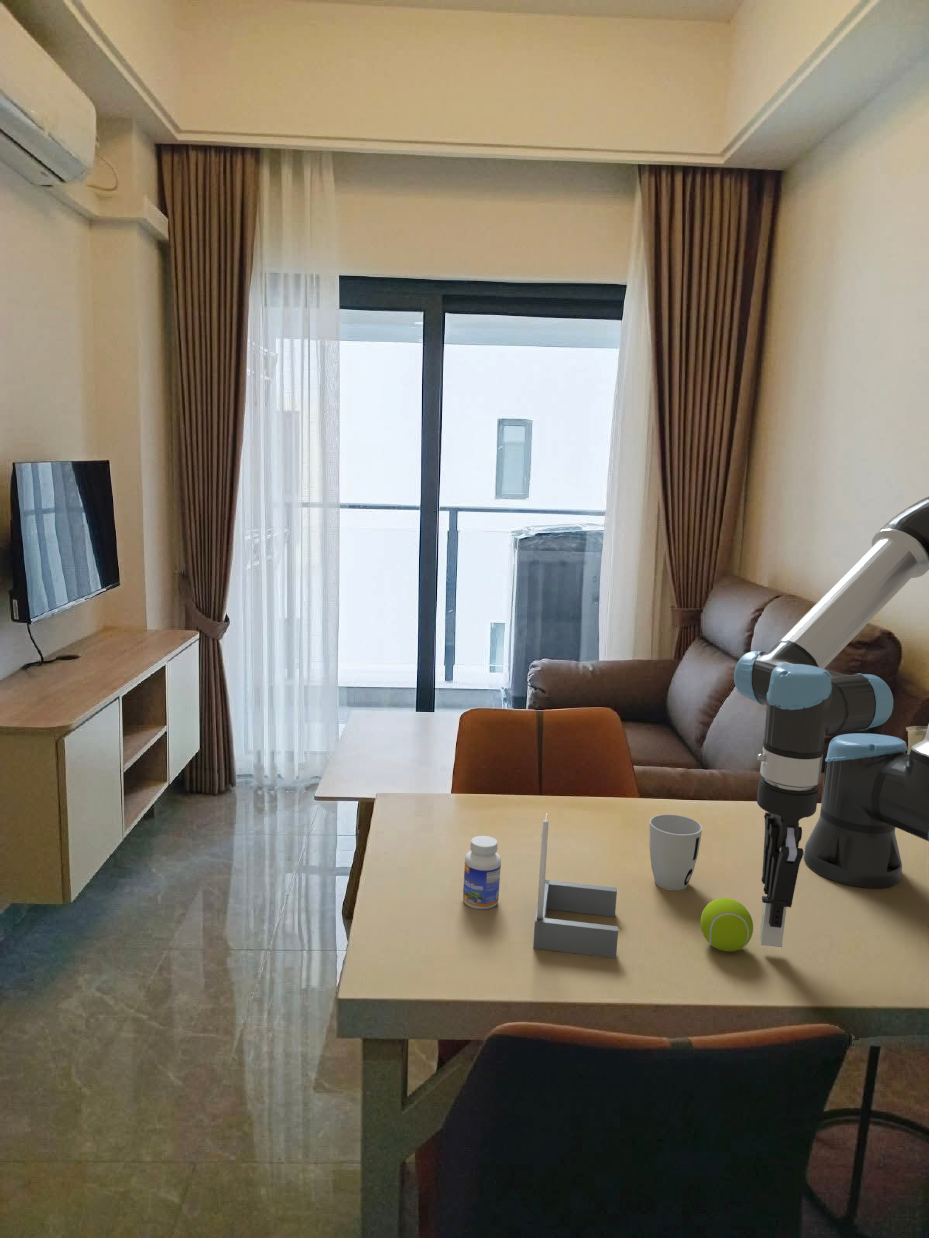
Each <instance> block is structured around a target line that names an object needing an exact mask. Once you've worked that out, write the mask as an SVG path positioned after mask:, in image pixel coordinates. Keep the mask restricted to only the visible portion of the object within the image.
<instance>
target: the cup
mask: <svg viewBox="0 0 929 1238" xmlns="http://www.w3.org/2000/svg"><path fill="white" fill-rule="evenodd" d="M702 831H703V825H702V824H701V823H700V822H699V821H697V820H695V819H693V818H690V817H688V816H684V815H680V814H672V813H671V814H670V813H666V814H658V815H654V816H652V817H651V818H650V819H649V842H648V843H649V844H648V845H649V857H650V866H651V870H652V874H653V879H654V882H655V884H656V885H657V886H658V887H659V888H661V889H665V890H668V891H683V890H684V889H686V888H687V887H688V885H689V883H690V881H691V878H692V876H693V874H694V871H695V867H696V864H697V860H698V856H699V851H700V845H701V837H702V834H703V833H702Z"/></svg>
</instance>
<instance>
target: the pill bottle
mask: <svg viewBox="0 0 929 1238" xmlns="http://www.w3.org/2000/svg"><path fill="white" fill-rule="evenodd" d="M469 849H470V850H469V851H467V853H466V855H465V857H464V872H463V874H464V875H463V888H462V890H463V891H462V892H463V893H462V900H463V902H464V904H465V905H466V906H467V907H469V908H472V909H475V910H489V909H492V908H494V907H496V906H497V905H498V903H499V897H500V880H501V867H502V865H501V864H502V863H501V862H502V860H501V856H500V855H499V853H498V840H497V839H496V838H494V837H492V836H488V835H477V836H474V837H473V838H471V840H470V848H469Z"/></svg>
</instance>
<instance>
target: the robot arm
mask: <svg viewBox="0 0 929 1238" xmlns="http://www.w3.org/2000/svg"><path fill="white" fill-rule="evenodd" d="M928 571H929V496H927V497H924V498H922V499H921V500H920V499H919V500H918V501H917V502H915V503H913V504H912V505H910V506H908V507H907V508H905V509H904V510H902V511H900V512H899V513H898V514H896V515H895V516H894V517H892V518H891V519H890V520H888V522H887V523H885V525H883V526H882V527H881V528H880V529H879V530H878V531H877V532H876V533H875V534H874V535H873V537H872V539H871V548H870V549H868V550H867V551H866V553H865V554H863V556H862V557H861V558H860V559H859V560H858V561H857V562H856V563H855V564H854V565H853V566H852V567H851V568H850V569H849V570H848V571H847V572H846V573H845V574H844V575H843V576H842V577H841V578H840V579H839V580H838V581H837V582H836V583H835V584H834V585H832V587H831V588H830V589H829V590H828V591H827V592H826V593H825V594H824V595H823V596H822V597H821V598H820V599H819V600H818V601H817V602H816V603H815V604H814V605H813V606H812V608H810V609H809V610H808V611H807V613H805V614H804V615H803V616H802V617H801V619H800V620H798V621H797V622H796V624H795V625H793V627H792V628H791V629H790V630H788V632H787V633H785V634H784V635H783V637H782V638H780V640H779V641H777V643H776V644H775V645H774V646H773V647H772V648H771V649H770V650H769V651H767V652H766V651H764V650H760V651H758V650H752V651H749V652H746V653H745V654H743V655H742V656H741V657H740V658H739V660H738V661H737V663H736V666H735V668H734V672H733V682H734V685H735V688H736V690H737V692H738V693H739V694H740V695H741V696H743V697H745V698H747V699H748V700H751V701H753V702H755V703H757V704H759V705H764V706H766V711H765V721H764V722H765V723H764V735H763V742H762V745H763V746H762V753H758V754H757V758H756V759H757V760H758V761H759V762H761V763H760V769H759V773H760V775H761V777H760V778H759V779H758V783H757V784H758V787H757V792H756V793H757V796H756V803H757V805H758V806H759V808H760V809H762V810H763V811H765V813H764V814H763V815H764V816H763V818H764V842H763V858H762V860H763V861H762V877H761V883H762V884H764V885H763V886H764V887H763V893H764V894H765V895H762V896H761V900H762V901H761V902H762V903H763V904H762V914H761V923H760V930H759V932H760V933H759V943H760V945H761V946H766V947H774V948H782V947H783V940H784V932H785V924H786V923H785V922H786V916H787V915H786V914H787V908H792V905H793V900H794V894H795V889H796V886H797V885H796V884H797V879H798V873H799V870H800V865H801V862H802V859H803V861H804V863H805V864H806V865H807V867H809V869H811V870H812V871H813V872H815V873H816V874H819V875H820V876H822V877H824V878H827V879H829V880H831V881H834V882H837V883H840V884H844V885H848V886H853V887H858V888H859V887H860V888H866V889H867V888H868V889H869V888H870V889H883V888H889V887H893V886H895V885H897V884H898V883H900V880H901V879H902V878H901V877H902V871H903V870H902V869H903V863H902V858H901V854H900V849H899V846H898V845H899V844H898V841H897V836H896V829H899V830H901V831H903V832H905V833H908V834H910V835H913V836H915V837H917V838H920V839H922V840H924V841H926V842H929V724H928V725H927V730H926V734H925V736H924V739H923V740H921V741H920V742H918V743H915V744H914V745H912V746H911V748H910V751H909V754H908V753H907V751H908V746H907V742H906V741H905V740H903V739H902V738H900V737H897V736H894V735H893V736H891V735H887V734H878V733H865V732H864V733H861V731H866V730H868V729H872V728H876V727H878V726H881V725H883V724H884V723H886V722H887V721H888V719H890V717H891V716H892V713H893V710H894V697H893V693H892V691H891V689H890V686H889V685H888V684H887V683H886V682H885V680H883V679H882V678H880V677H879V676H877V675H875V674H869V673H868V674H867V673H865V674H863V673H854V674H845V673H844V674H843V673H841V672H837V671H833V670H830V669H826V667H828V665H829V664H830V663H832V661H833V660H834V659H835V658H836V657H837V656H838V655H839V654H840V653H841V652H842V651H843V650H844V649H845V647H847V646H848V644H850V642H852V641H853V639H854V638H855V637H856V636H858V634H859V633H860V632H861V631H862V630H863V629H864V628H865V627H866V626H867V625H868V623H870V621H872V619H874V618H875V616H876V615H878V613H879V612H880V611H881V610H882V609H883V608H884V607H885V606H886V605H887V604H888V603H889V602H890V601H891V600H892V599H893V598H894V597H895V596H896V595H897V594H898V593H899V591H900V590H901V589H902V588H904V587H905V585H906V584H907V583H908V582H909V581H910V580H911V579H915V578H920V577H923V576H924V575H925V574H926V573H928ZM856 731H857V732H858V731H859V733H849V732H856ZM842 733H844V734H842ZM845 733H846V734H845ZM834 734H839V735H836V736H835V737H833V738H832V739H831V740H830V742H829V744H828V749H827V753H826V754H827V755H826V757H825V759H824V758H823V757H824V748H825V747H824V745H825V739H826V736H828V735H834ZM823 759H824V760H825V765H824V767H825V768H824V776H823V783H822V784H823V785H822V792H821V793H822V795H821V803H820V804H821V805H820V813H819V817H818V820H817V822H816V823H815V826H814V827H813V829H812V832H811V834H810V836H809V837H808V839H807V841H806V844H805V847H804V849H803V848H801V847H799V846H800V842H801V840H802V836H803V827H802V826H800V823H799V821H800V820H802V819H804V818H809V817H812V816H813V815H815V813H816V811H817V806H818V797H819V787H818V786H817V785H819V784H820V783H821V776H822V770H823V769H822V766H823Z"/></svg>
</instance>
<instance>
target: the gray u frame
mask: <svg viewBox="0 0 929 1238" xmlns="http://www.w3.org/2000/svg"><path fill="white" fill-rule="evenodd" d="M548 816H549V814H548V812H545V818H544V819H543V820H542V827H541V842H540V843H541V845H540V858H539V859H540V860H539V863H540V864H539V874H538V875H539V879H538V893H537V894H538V895H537V903H536V904H537V905H536V911H535V918H534V929H533V946H532V949H538V950H544V951H553V952H561V953H567V954H568V953H569V954H578V955H586V956H593V957H594V956H595V957H601V958H602V957H603V958H611V959H617V953H618V952H617V949H618V940H619V939H618V938H619V926H617V925H610V924H609V925H608V924H600V923H592V922H591V923H590V922H582V921H575V920H567V919H566V920H565V919H556V918H548V917H547V911H548V910H553V911H562V912H568V913H569V912H571V913H580V914H589V915H595V916H596V915H598V916H604V917H614V918H615V917H616V908H617V896H618V895H617V894H618V887H613V886H603V885H602V886H601V885H595V884H587V883H586V884H585V883H576V882H567V881H560V880H550V879H549V880H547V879H546V873H547V872H546V870H547V855H548V854H547V853H548V836H549V824H550V823H549V820H548Z"/></svg>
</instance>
